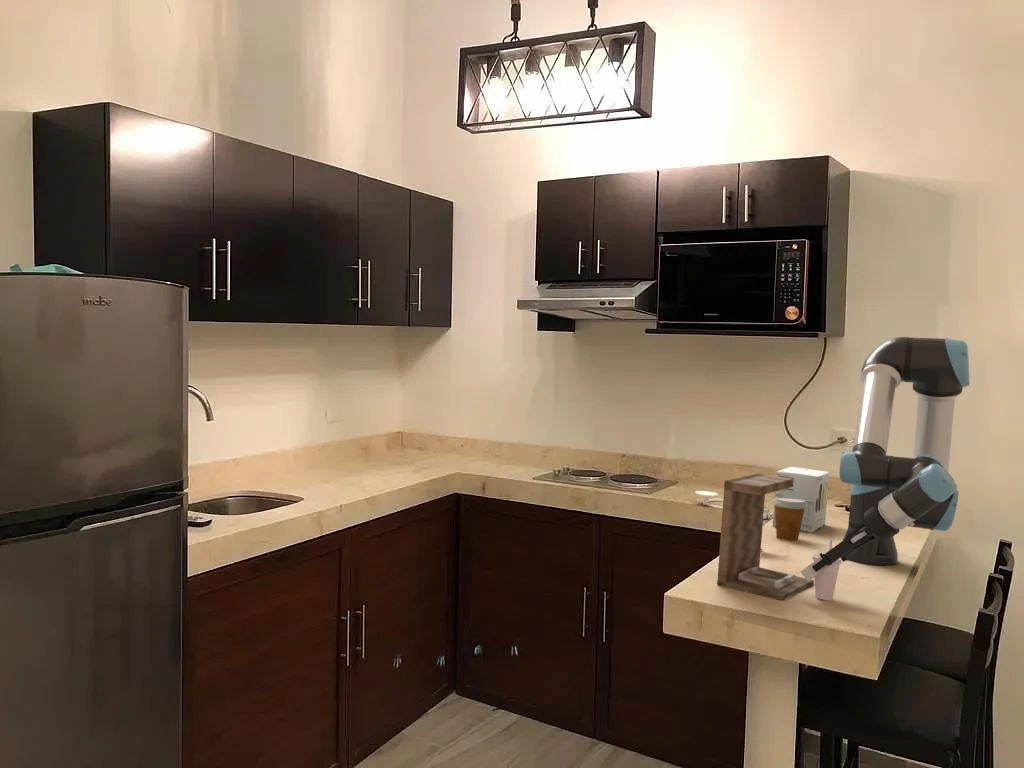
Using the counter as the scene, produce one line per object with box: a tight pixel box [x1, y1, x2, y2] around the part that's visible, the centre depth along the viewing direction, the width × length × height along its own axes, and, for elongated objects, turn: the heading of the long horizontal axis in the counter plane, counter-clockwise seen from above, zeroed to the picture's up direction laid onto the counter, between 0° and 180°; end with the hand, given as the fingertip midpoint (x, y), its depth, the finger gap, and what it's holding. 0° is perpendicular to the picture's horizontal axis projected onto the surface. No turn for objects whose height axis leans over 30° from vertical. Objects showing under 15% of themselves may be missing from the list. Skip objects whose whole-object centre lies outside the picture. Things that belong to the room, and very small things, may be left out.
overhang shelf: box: [716, 473, 815, 601], centre depth 210 cm, size 20×16×25 cm
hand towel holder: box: [695, 490, 723, 510], centre depth 313 cm, size 17×4×21 cm
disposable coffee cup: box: [773, 497, 806, 542], centre depth 263 cm, size 10×10×12 cm
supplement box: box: [772, 466, 831, 533], centre depth 284 cm, size 17×13×18 cm
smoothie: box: [812, 537, 843, 601], centre depth 201 cm, size 6×6×14 cm
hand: (810, 573), depth 204 cm, fingers closed on smoothie, 6 cm apart
